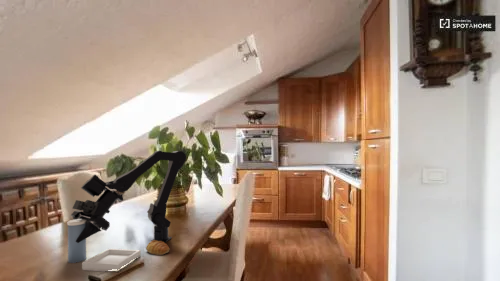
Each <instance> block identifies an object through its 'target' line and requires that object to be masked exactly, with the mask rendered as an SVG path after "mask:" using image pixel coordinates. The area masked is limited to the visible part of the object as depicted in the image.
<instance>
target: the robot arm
mask: <svg viewBox="0 0 500 281" xmlns="http://www.w3.org/2000/svg"><path fill="white" fill-rule="evenodd" d="M159 161H168V164H167V166H168V167H167V171H166V174H165V176H164V180H163V182H162V185H161V188H160V189H159V190H160V191H159V193H158V196H157V198H156V201H155V202H154V203H150V204H149V208H148V210H147V212H146V213H147V217H148V221H150V222H151V223H152V224H153V228H154V229H153V239H152V240H150V242H151V241H153V240H157V241H162V242H164V243H165V244H166V243H167V242H168V241H170V240H171V239H172V238H173V237H172V236H169V228H170V226H171V223H172V222H171V221H170V220H169V219H168V218H167V217H166V215H167V206H168V204H167V203H168V200H169V199H170V195H171V192H172V190H173V187H174V183H175V181H176V178H177V175H178V173H179V171H180V170H181V169H182V168H183V166H184V164H185V162H186V161H187V155H186V153H185V152H184V151H181V150H175V151H174V150H173V151H172V152H171V151H170V152H169V151H161V150H155V151H153V153H152V154H151V155H149V156H148V157H147V158H145V159H144V160H143V161H142V162H140V163H139V164H137V166H135V167H133V169H131V170H129V171H127V172H125V173H122V174H121V175H119V176H118V177H116V178H115V179H113V180H110V181H106V182H105V181H104V180H102V179H101V178H100V177H99V176H98V175H96V174H93V175H92V176H91V177H90V178H89V179H87V180H86V181H85V182H84V184H82V185H81V187H80V188H81V190H83V191H84V192H86V193H87V194H88V195H90V196H91V197H93V198H94V197H95V196H96V197H98V198H97V199H96V200H95V201H93V200H90V199H87V200H85V201H83V200H77V199H76V200H75V202H74V204H73V206H72V209H73V210H74V211H73V212H72V213H71V214H70V216H71V217H72V218H73V219H72V220H75V219H86V220H87V221H86V223H85V228H84V229H83V231H82V232H81V234H80V235H79V236H78V238H77V240H76V242H77V243H79V242H81V241H83V240H84V239H86V240H87V238H90V237H92V236H93V235H95V234H97V233H99V232H101V231H105V232H106V231H107V230H108V229H109V228H110V225H111V224H110V221H108V220H107V219H106V218H104V216H105V215H106V214H109V213H111V211H110V209H111V207H112V206H113V205H114V204H116V202H123V201H124V197H123V196H124V195H123V194H122V193H125V192H127V191H129V189H130V188H131V187H132V186H133V185H134V184H135V182H136V181H137V180H138V178H140V177H141V176H143V174H145V173H146V172H147V171H149V170H150V169H151V168H152V167H154V166H155V165H156V164H157V163H159ZM118 192H119V193H118Z"/></svg>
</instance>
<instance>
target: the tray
mask: <svg viewBox="0 0 500 281" xmlns="http://www.w3.org/2000/svg"><path fill="white" fill-rule="evenodd" d="M141 251H142V250H141V249H140V250H139V249H122V248H121V249H120V248H107V249H105V250H103V251H101V252H100V253H97V254H96V255H94V256H92V257H90V258H88V259H85V260H83V261H81V271H90V272H91V271H92V272H93V271H94V272H105V271H108V270H112V269H117V270H118V269H120V268H121V267H122V266H124V265H126V264H127V263H129V262H130V261H131V260H133V259H135V258H137V257H140V258H141Z"/></svg>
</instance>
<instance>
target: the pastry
mask: <svg viewBox="0 0 500 281" xmlns="http://www.w3.org/2000/svg"><path fill="white" fill-rule="evenodd" d="M152 240H153V239H152ZM145 248H146V252H147V253H149V254H151V255H156V256H160V255H161V256H163V255H165V254H167V253H169V252H170V247H169V245H168V244H167V243H166V242H165V243H164V242H162V241H157V240H153V241H151V240H150V242H148V244H147V245H146V247H145Z"/></svg>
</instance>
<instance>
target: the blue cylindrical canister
mask: <svg viewBox="0 0 500 281" xmlns="http://www.w3.org/2000/svg"><path fill="white" fill-rule="evenodd" d="M86 221H87V220H86V219H75V220H74V219H70V220H68V221H67V222H66V225H67V263H69V264H76V262H77V263H80V262H81V263H82V262H84V261H86V260H87V238H86V239H84V240H83V241H81V242H79V243H77V242H76V240H77V238H78V236H79V235H80V234H81V232H82V231H83V229H84V228H85V223H86Z"/></svg>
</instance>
